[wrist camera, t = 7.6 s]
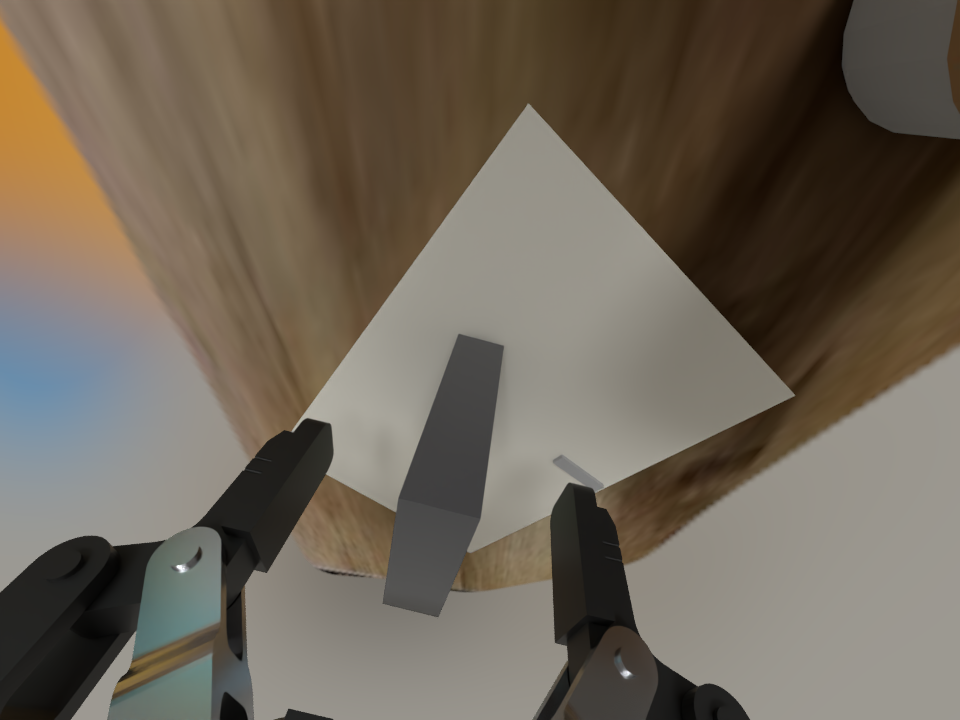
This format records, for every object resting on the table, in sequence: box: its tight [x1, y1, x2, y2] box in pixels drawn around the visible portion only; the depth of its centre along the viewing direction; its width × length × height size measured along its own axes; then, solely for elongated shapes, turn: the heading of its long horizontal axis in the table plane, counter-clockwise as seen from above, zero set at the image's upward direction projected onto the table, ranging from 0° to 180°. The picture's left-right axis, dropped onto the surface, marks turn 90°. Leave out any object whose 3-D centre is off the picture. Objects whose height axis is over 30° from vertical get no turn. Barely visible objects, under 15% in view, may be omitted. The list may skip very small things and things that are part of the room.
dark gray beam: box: [383, 334, 504, 617], centre depth 13 cm, size 2×11×7 cm, turn 167°
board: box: [291, 103, 795, 553], centre depth 17 cm, size 20×14×3 cm
